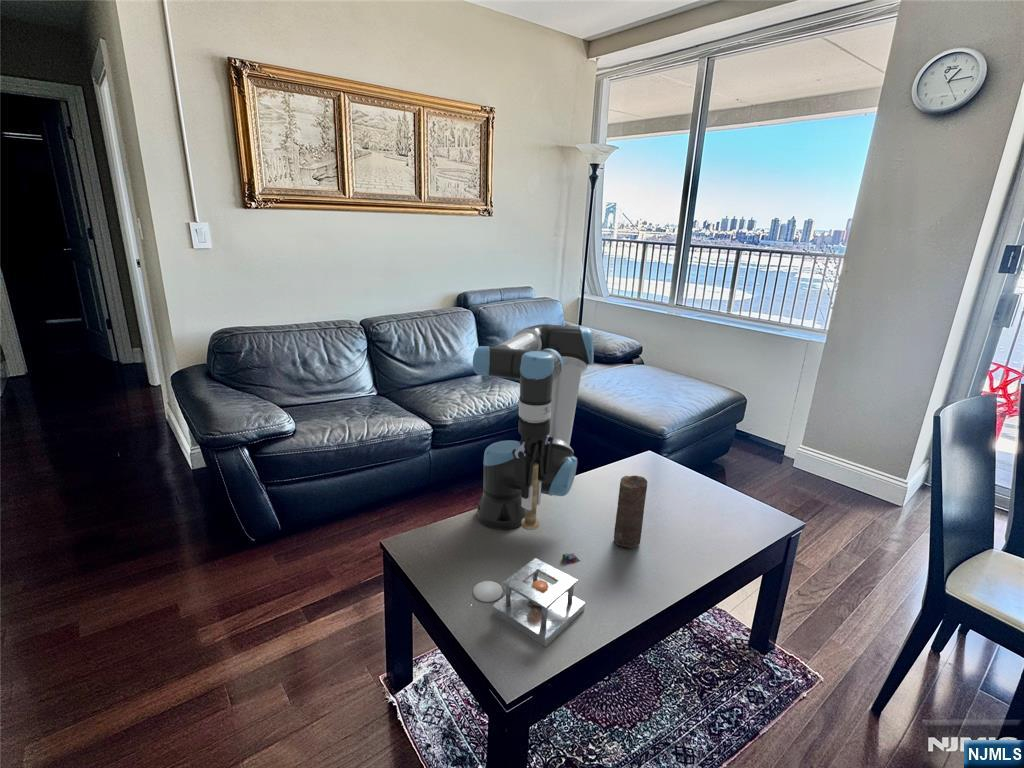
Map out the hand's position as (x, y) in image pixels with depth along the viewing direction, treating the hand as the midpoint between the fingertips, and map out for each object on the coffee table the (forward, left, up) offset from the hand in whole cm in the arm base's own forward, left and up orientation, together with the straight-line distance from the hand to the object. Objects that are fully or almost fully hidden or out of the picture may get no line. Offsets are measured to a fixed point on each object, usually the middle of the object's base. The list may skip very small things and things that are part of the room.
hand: (530, 505), depth 129 cm
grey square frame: (+12, -11, -18) cm, 24 cm away
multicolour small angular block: (+6, +10, -18) cm, 22 cm away
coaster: (-1, -14, -18) cm, 23 cm away
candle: (+14, +27, -18) cm, 35 cm away
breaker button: (+12, -11, -15) cm, 22 cm away
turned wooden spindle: (0, 0, -6) cm, 6 cm away
